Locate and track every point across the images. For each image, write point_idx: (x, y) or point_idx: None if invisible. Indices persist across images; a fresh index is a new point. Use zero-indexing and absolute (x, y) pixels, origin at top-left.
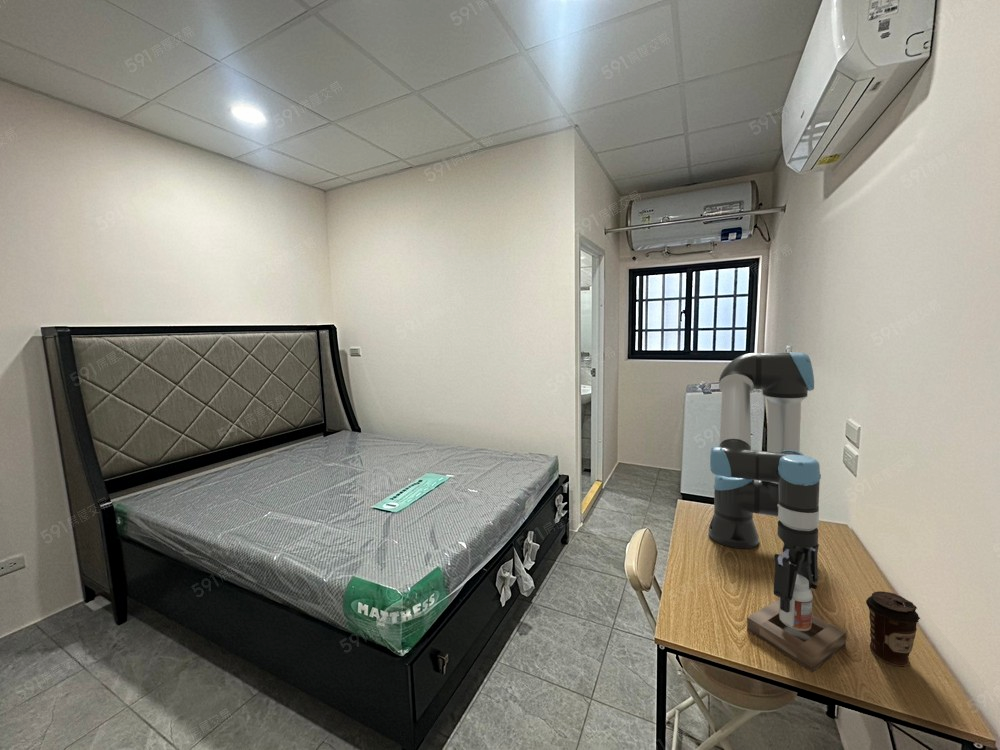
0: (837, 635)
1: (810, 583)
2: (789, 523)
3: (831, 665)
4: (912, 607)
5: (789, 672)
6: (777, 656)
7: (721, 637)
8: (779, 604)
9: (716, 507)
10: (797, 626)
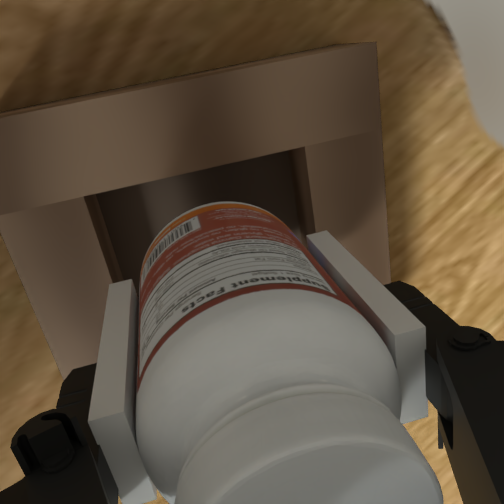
0: (49, 124)
1: (92, 480)
2: None
3: (204, 39)
4: None
5: (429, 81)
6: (387, 172)
7: (485, 317)
8: None
9: None
10: (286, 227)
